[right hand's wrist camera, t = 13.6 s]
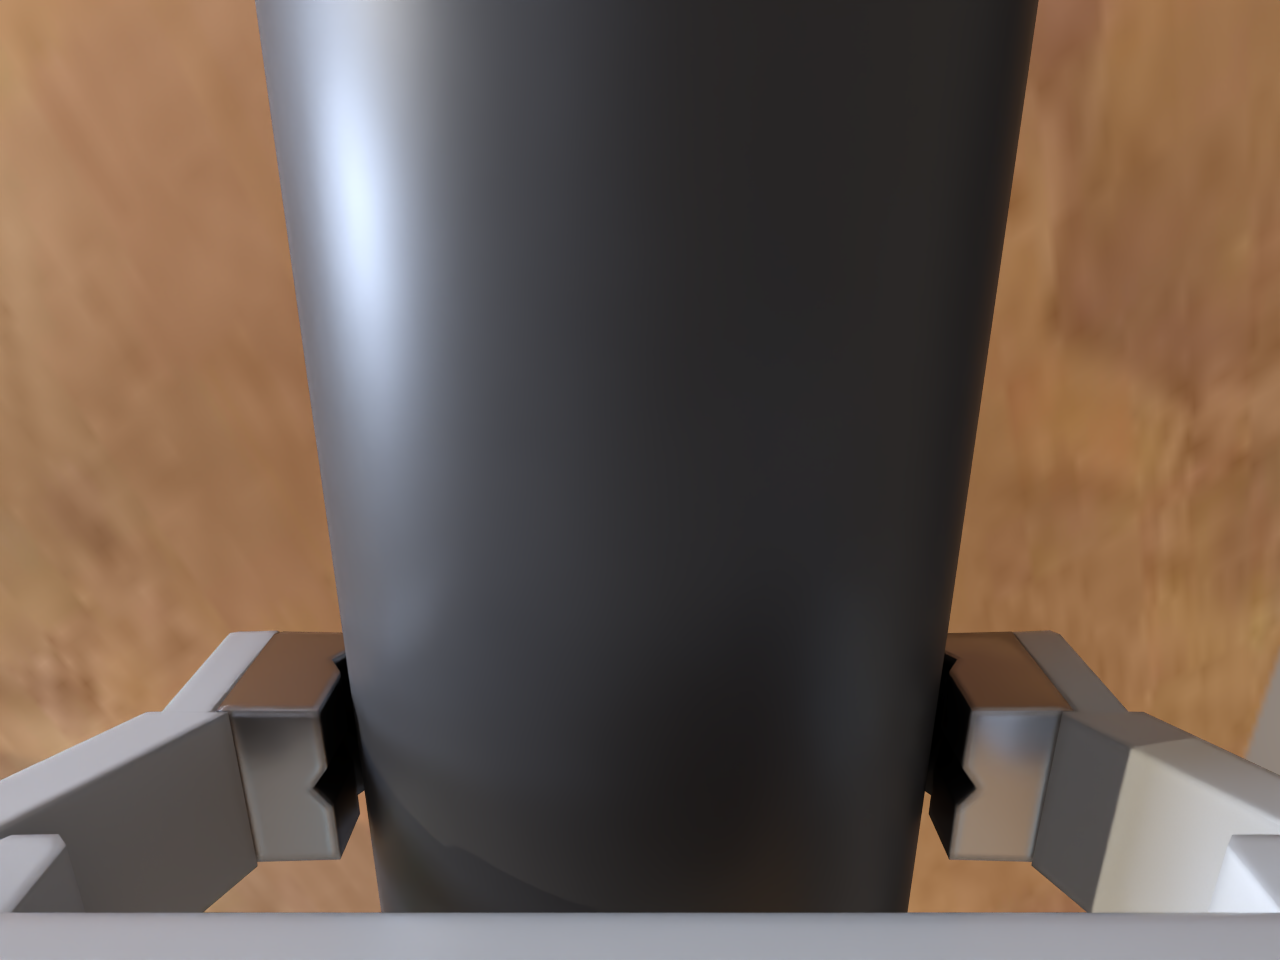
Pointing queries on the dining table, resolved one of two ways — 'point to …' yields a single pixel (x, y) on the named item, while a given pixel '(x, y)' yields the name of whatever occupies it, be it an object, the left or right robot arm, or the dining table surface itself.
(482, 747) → the rod
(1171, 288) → the dining table surface
